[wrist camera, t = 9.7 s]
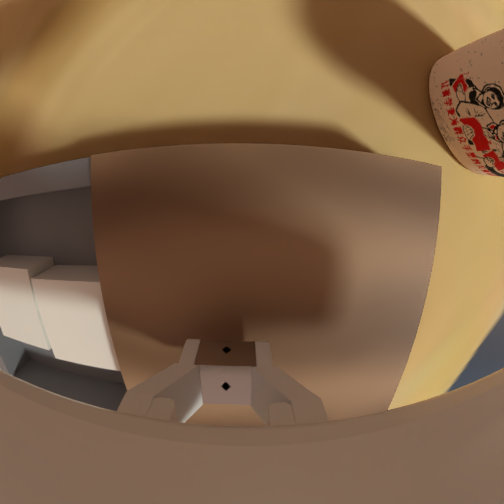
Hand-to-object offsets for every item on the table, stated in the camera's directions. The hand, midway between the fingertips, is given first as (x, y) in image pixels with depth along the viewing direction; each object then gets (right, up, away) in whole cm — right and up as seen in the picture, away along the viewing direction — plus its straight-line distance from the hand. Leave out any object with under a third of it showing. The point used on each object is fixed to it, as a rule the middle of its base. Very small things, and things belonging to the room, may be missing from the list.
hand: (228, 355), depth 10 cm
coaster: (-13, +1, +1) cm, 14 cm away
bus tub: (-12, +1, +4) cm, 13 cm away
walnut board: (+2, +1, +5) cm, 5 cm away
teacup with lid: (+17, +12, +3) cm, 21 cm away
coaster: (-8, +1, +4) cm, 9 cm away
